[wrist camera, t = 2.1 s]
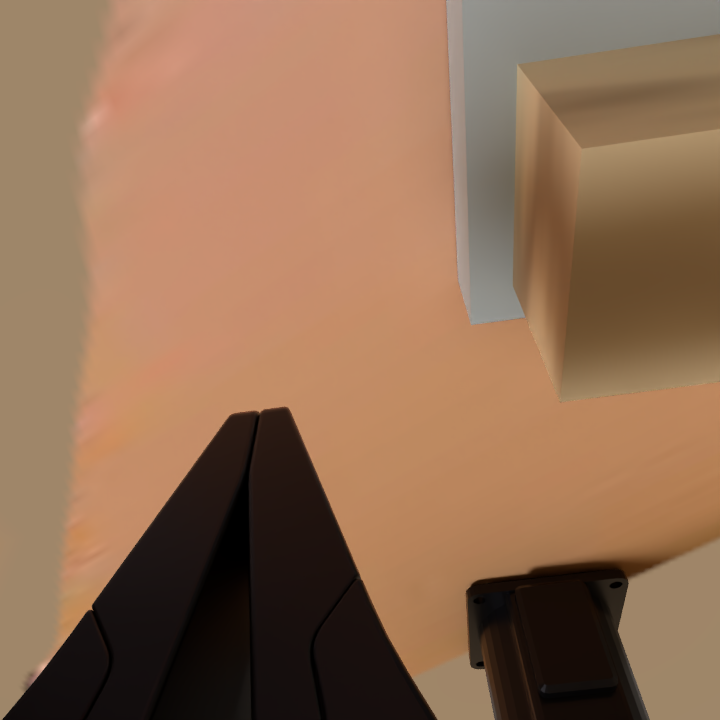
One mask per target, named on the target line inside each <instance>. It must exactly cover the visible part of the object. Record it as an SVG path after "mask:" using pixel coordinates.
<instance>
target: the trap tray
mask: <svg viewBox="0 0 720 720" xmlns="http://www.w3.org/2000/svg"><path fill="white" fill-rule="evenodd" d="M446 6H447V30H448V54H449V77H450V101H451V125H452V149H453V172H454V196H455V220H456V244H457V267H458V282H459V285H460V289H461V292H462V295H463V299H464V302H465V306H466V309H467V312H468V316H469V319H470V323H471V325H474V324H481V323H489V322H497V321H504V320H512V319H519V318H526V317H525V315H524V312H523V310H522V307H521V305H520V302H519V300H518V298H517V295H516V293H515V290H514V288H513V244H514V195H515V145H516V96H517V64H523V63H530V62H536V61H543V60H550V59H556V58H563V57H570V56H576V55H583V54H590V53H596V52H603V51H610V50H616V49H623V48H630V47H637V46H643V45H650V44H657V43H663V42H670V41H677V40H683V39H690V38H697V37H703V36H710V35H717V34H720V0H446Z"/></svg>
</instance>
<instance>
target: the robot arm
mask: <svg viewBox="0 0 720 720" xmlns="http://www.w3.org/2000/svg"><path fill="white" fill-rule="evenodd" d="M628 584H629V583H628V579H627V577H626V574H625V572H624V571H623V570H619V569H613V570H605V571H596V572H587V573H578V574H570V575H561V576H552V577H544V578H535V579H526V580H518V581H509V582H500V583H491V584H483V585H476V586H472V587H470V588H469V589H468V590H467V591H466V607H467V626H468V646H469V659H470V665H471V667H472V668H475V669H485V671H486V677H487V682H488V687H489V692H490V697H491V702H492V708H493V713H494V718H495V720H650V719H649V716H648V713H647V711H646V708H645V705H644V703H643V700H642V697H641V694H640V691H639V689H638V686H637V683H636V680H635V678H634V675H633V672H632V669H631V667H630V664H629V661H628V658H627V655H626V653H625V650H624V647H623V644H622V642H621V639H620V636H619V633H618V627H619V622H620V618H621V613H622V609H623V605H624V601H625V597H626V592H627V588H628ZM92 609H93V610H88V611H87V612H86V614H85V615H84V616H83V618H82V619H81V621H80V622H79V623H78V625H77V626H76V627H75V629H74V630H73V632H72V633H71V634H70V636H69V637H68V638H67V640H66V641H65V642H64V644H63V645H62V646H61V648H60V649H59V650H58V651H57V653H56V654H55V655H54V657H53V658H52V659H51V661H50V662H49V663H48V665H47V666H46V667H45V669H44V670H43V671H42V673H41V674H40V675H39V676H38V677H37V679H36V680H35V681H34V682H33V683H32V685H31V686H30V687H29V688H28V689H27V691H26V692H25V693H24V694H23V695H22V697H21V698H20V699H19V700H18V701H17V703H16V704H15V705H14V706H13V707H12V709H11V710H10V711H9V712H8V713H7V715H6V716H5V717H4V718H3V720H437V718H436V717H435V715H434V713H433V712H432V710H431V709H430V707H429V705H428V704H427V702H426V700H425V699H424V697H423V695H422V694H421V692H420V691H419V689H418V687H417V686H416V684H415V682H414V681H413V679H412V678H411V676H410V674H409V673H408V671H407V669H406V667H405V666H404V664H403V662H402V660H401V659H400V657H399V655H398V653H397V652H396V650H395V648H394V646H393V645H392V643H391V641H390V639H389V637H388V635H387V633H386V631H385V629H384V627H383V625H382V623H381V621H380V619H379V616H378V614H377V612H376V610H375V608H374V606H373V604H372V601H371V599H370V597H369V594H368V592H367V590H366V587H365V585H364V583H363V581H362V580H361V577H360V574H359V572H358V569H357V567H356V565H355V562H354V560H353V557H352V555H351V553H350V550H349V548H348V546H347V543H346V541H345V539H344V536H343V534H342V532H341V529H340V527H339V525H338V522H337V520H336V517H335V515H334V513H333V510H332V508H331V506H330V503H329V501H328V499H327V496H326V494H325V492H324V489H323V487H322V485H321V482H320V480H319V477H318V475H317V473H316V470H315V468H314V466H313V463H312V461H311V459H310V456H309V454H308V452H307V449H306V447H305V445H304V442H303V440H302V437H301V435H300V433H299V430H298V428H297V426H296V423H295V421H294V419H293V416H292V414H291V412H290V410H289V409H288V408H287V407H279V408H271V409H264V410H263V411H261V412H260V413H259V412H257V411H248V412H240V413H234V414H232V415H230V416H229V417H228V418H227V420H226V421H225V422H224V424H223V425H222V427H221V428H220V429H219V431H218V432H217V434H216V435H215V436H214V438H213V439H212V440H211V442H210V443H209V445H208V446H207V447H206V449H205V450H204V451H203V453H202V454H201V456H200V457H199V458H198V460H197V461H196V462H195V464H194V465H193V467H192V468H191V469H190V471H189V472H188V473H187V475H186V476H185V478H184V479H183V480H182V482H181V483H180V485H179V486H178V487H177V489H176V490H175V491H174V493H173V494H172V496H171V497H170V498H169V500H168V501H167V502H166V504H165V505H164V507H163V508H162V509H161V511H160V512H159V513H158V515H157V516H156V518H155V519H154V520H153V522H152V523H151V524H150V526H149V527H148V529H147V530H146V531H145V533H144V534H143V536H142V537H141V538H140V540H139V541H138V542H137V544H136V545H135V547H134V548H133V549H132V551H131V552H130V553H129V555H128V556H127V558H126V559H125V560H124V562H123V563H122V564H121V566H120V567H119V569H118V570H117V571H116V573H115V574H114V576H113V577H112V578H111V580H110V581H109V582H108V584H107V585H106V587H105V588H104V589H103V591H102V592H101V593H100V595H99V596H98V598H97V599H96V600H95V602H94V603H93V605H92Z"/></svg>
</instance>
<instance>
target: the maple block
mask: <svg viewBox="0 0 720 720" xmlns="http://www.w3.org/2000/svg"><path fill="white" fill-rule="evenodd" d="M513 288H514V290H515V293H516V295H517V298H518V300H519V302H520V305H521V307H522V310H523V312H524V315H525V317H526V320H527V322H528V325H529V327H530V330H531V332H532V335H533V337H534V340H535V342H536V344H537V347H538V349H539V352H540V354H541V357H542V359H543V362H544V364H545V367H546V369H547V372H548V374H549V377H550V379H551V382H552V384H553V386H554V389H555V391H556V394H557V396H558V399H559V401H560V402H566V401H574V400H582V399H590V398H598V397H606V396H614V395H622V394H630V393H638V392H645V391H653V390H661V389H669V388H677V387H685V386H693V385H701V384H709V383H717V382H720V34H717V35H710V36H703V37H697V38H690V39H683V40H677V41H670V42H663V43H657V44H650V45H643V46H637V47H630V48H623V49H616V50H610V51H603V52H596V53H590V54H583V55H576V56H570V57H563V58H556V59H550V60H543V61H536V62H530V63H523V64H517V96H516V145H515V195H514V244H513Z"/></svg>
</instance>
